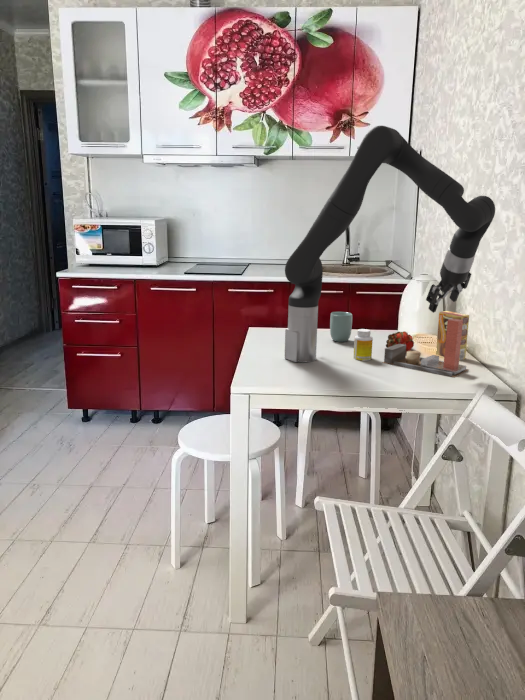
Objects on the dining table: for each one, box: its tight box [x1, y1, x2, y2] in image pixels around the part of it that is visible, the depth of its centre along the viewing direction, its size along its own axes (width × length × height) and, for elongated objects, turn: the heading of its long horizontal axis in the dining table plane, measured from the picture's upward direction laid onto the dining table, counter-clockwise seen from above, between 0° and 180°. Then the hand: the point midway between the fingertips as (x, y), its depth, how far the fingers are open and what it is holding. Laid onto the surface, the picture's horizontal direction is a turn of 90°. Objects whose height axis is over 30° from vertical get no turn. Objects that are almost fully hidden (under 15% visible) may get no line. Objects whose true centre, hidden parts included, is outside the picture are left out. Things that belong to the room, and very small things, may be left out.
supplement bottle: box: [353, 328, 374, 362], centre depth 182 cm, size 6×6×10 cm
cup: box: [329, 311, 353, 343], centre depth 210 cm, size 8×8×10 cm
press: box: [381, 344, 469, 378], centre depth 174 cm, size 23×11×6 cm, turn 49°
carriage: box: [421, 318, 467, 375], centre depth 169 cm, size 10×8×15 cm
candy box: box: [435, 310, 470, 361], centre depth 185 cm, size 9×4×15 cm, turn 33°
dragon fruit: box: [385, 331, 415, 354], centre depth 193 cm, size 8×8×12 cm
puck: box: [405, 350, 421, 365], centre depth 177 cm, size 4×4×4 cm
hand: (442, 305), depth 173 cm, fingers open, 8 cm apart
